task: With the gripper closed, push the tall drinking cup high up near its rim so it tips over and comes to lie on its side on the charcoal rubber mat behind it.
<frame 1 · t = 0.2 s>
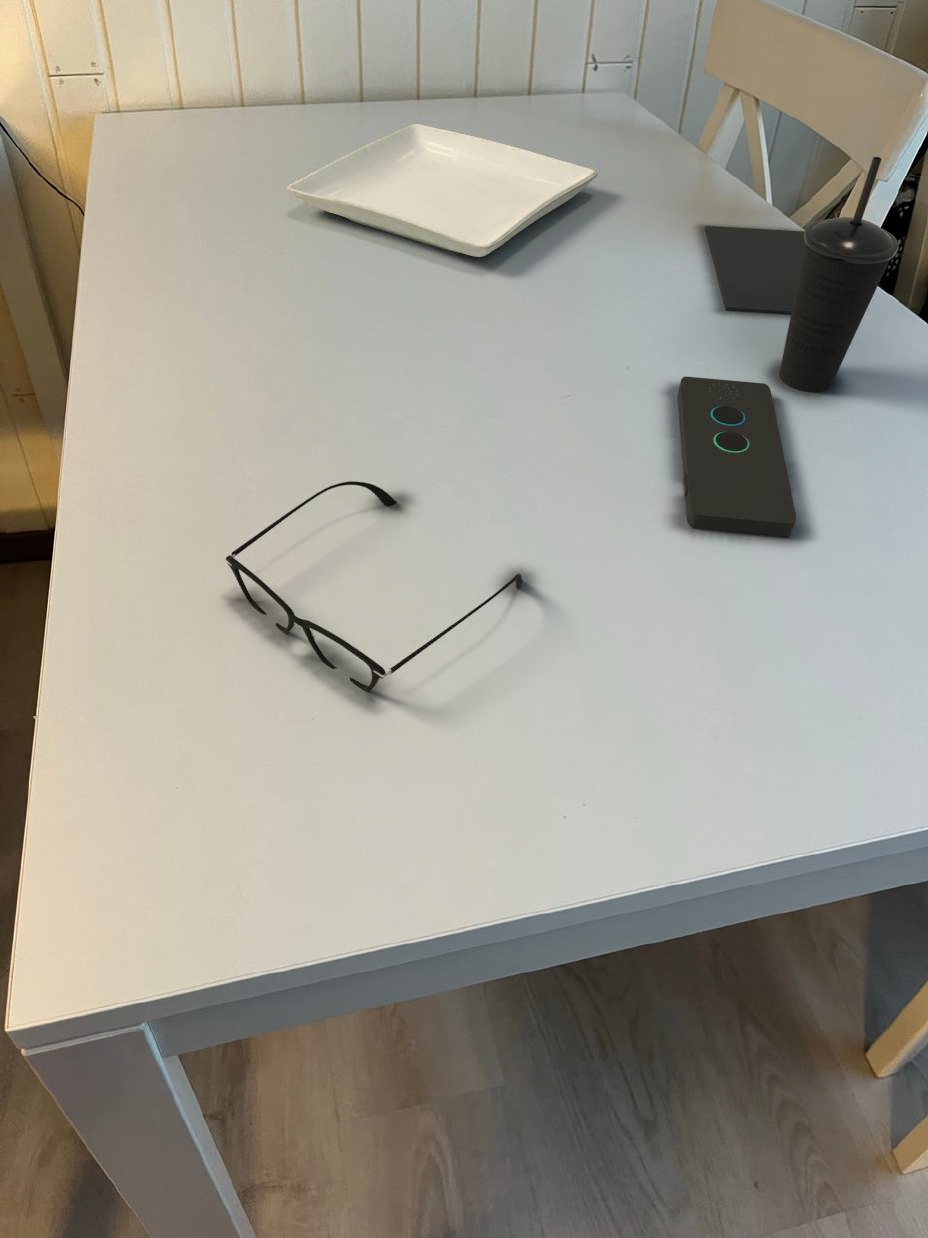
smart home device: (728, 460, 81), on the table
square plate: (446, 208, 115), on the table
drinking cup: (804, 382, 90), on the table
mat: (768, 272, 105), on the table
eyeglasses: (382, 595, 68), on the table
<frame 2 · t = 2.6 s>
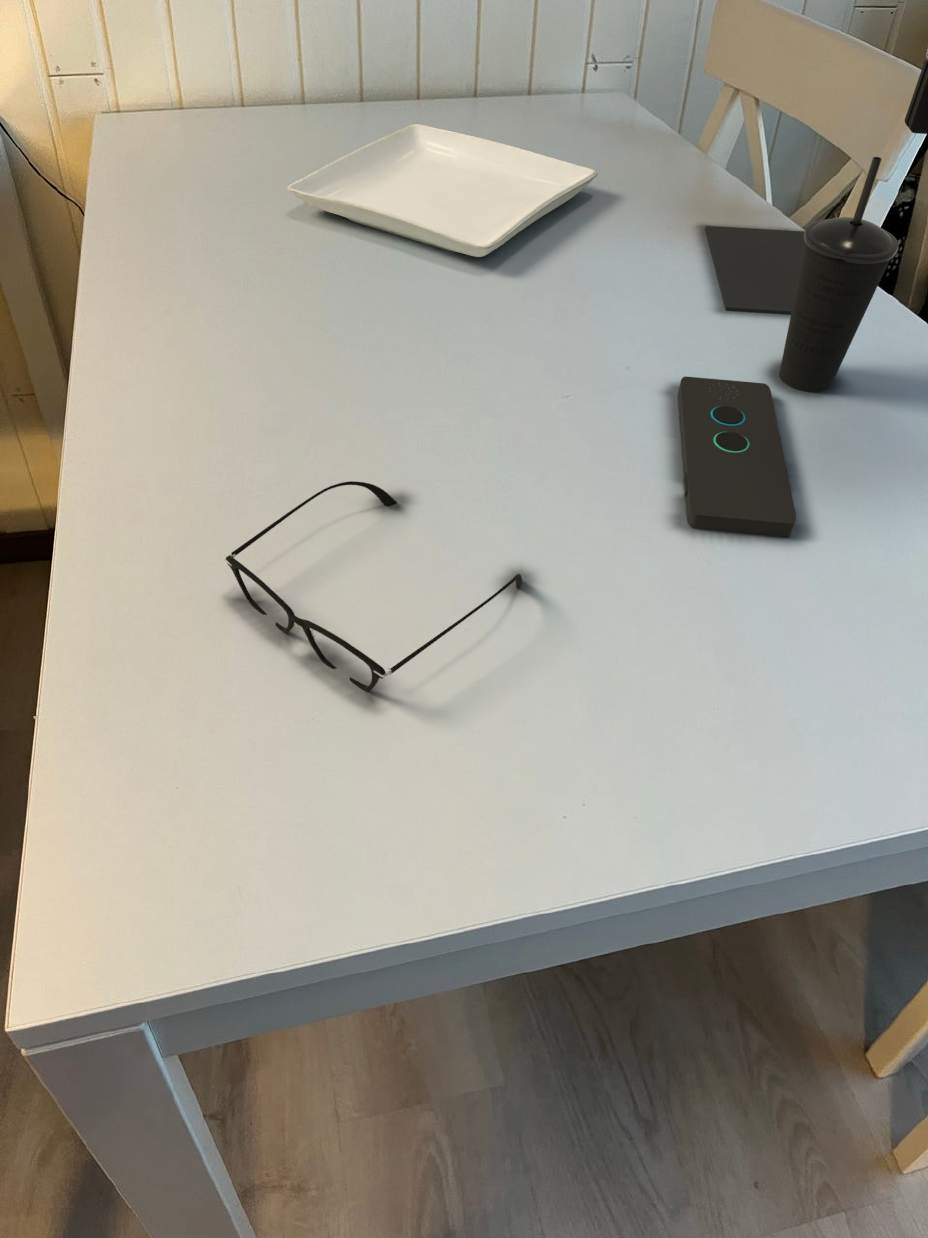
nothing on the table moved.
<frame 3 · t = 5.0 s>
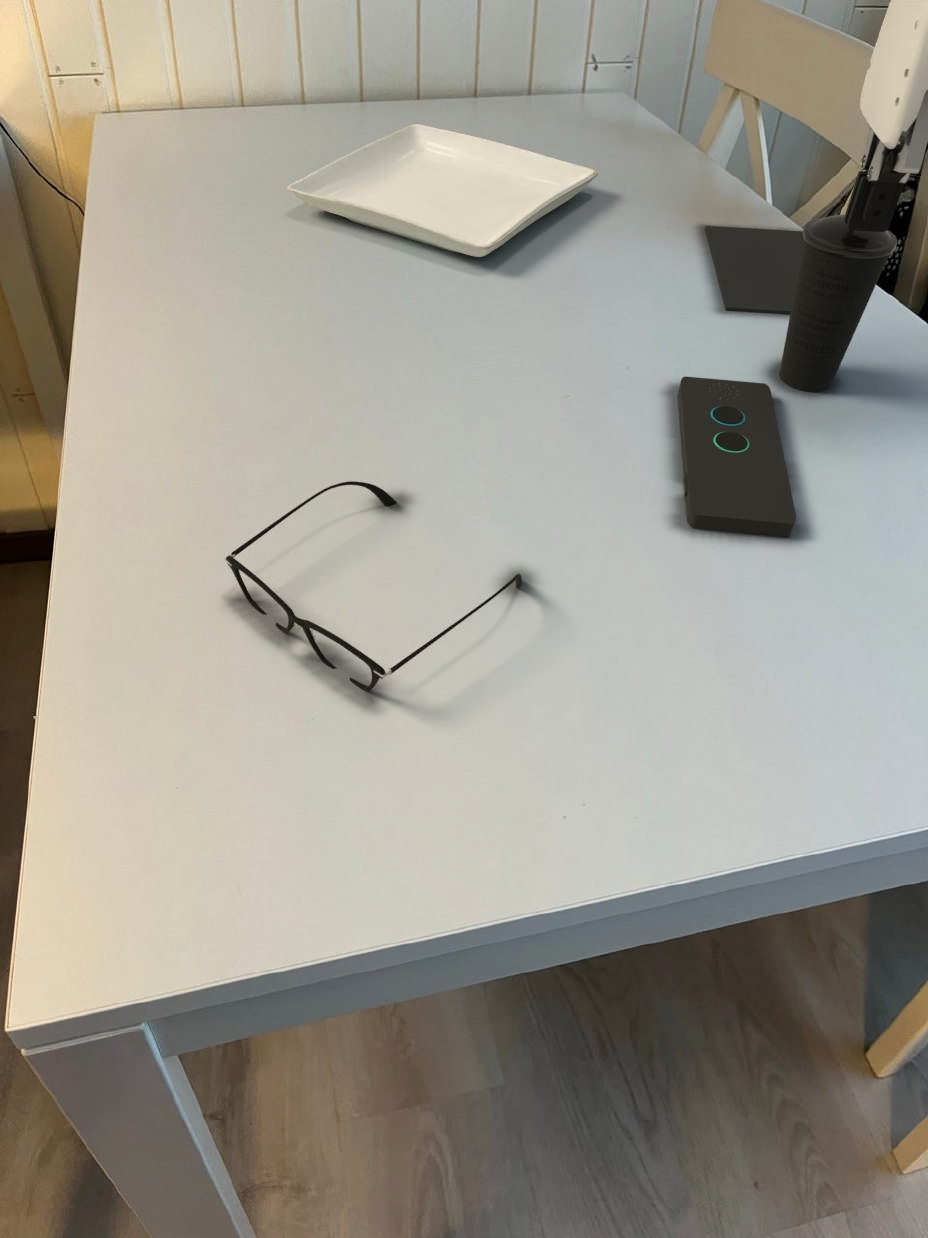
hand: (865, 226, 77), 16 cm above the table, tool pointing down, fingers closed
drinking cup: (804, 381, 90), on the table, touching gripper
everything else where it was.
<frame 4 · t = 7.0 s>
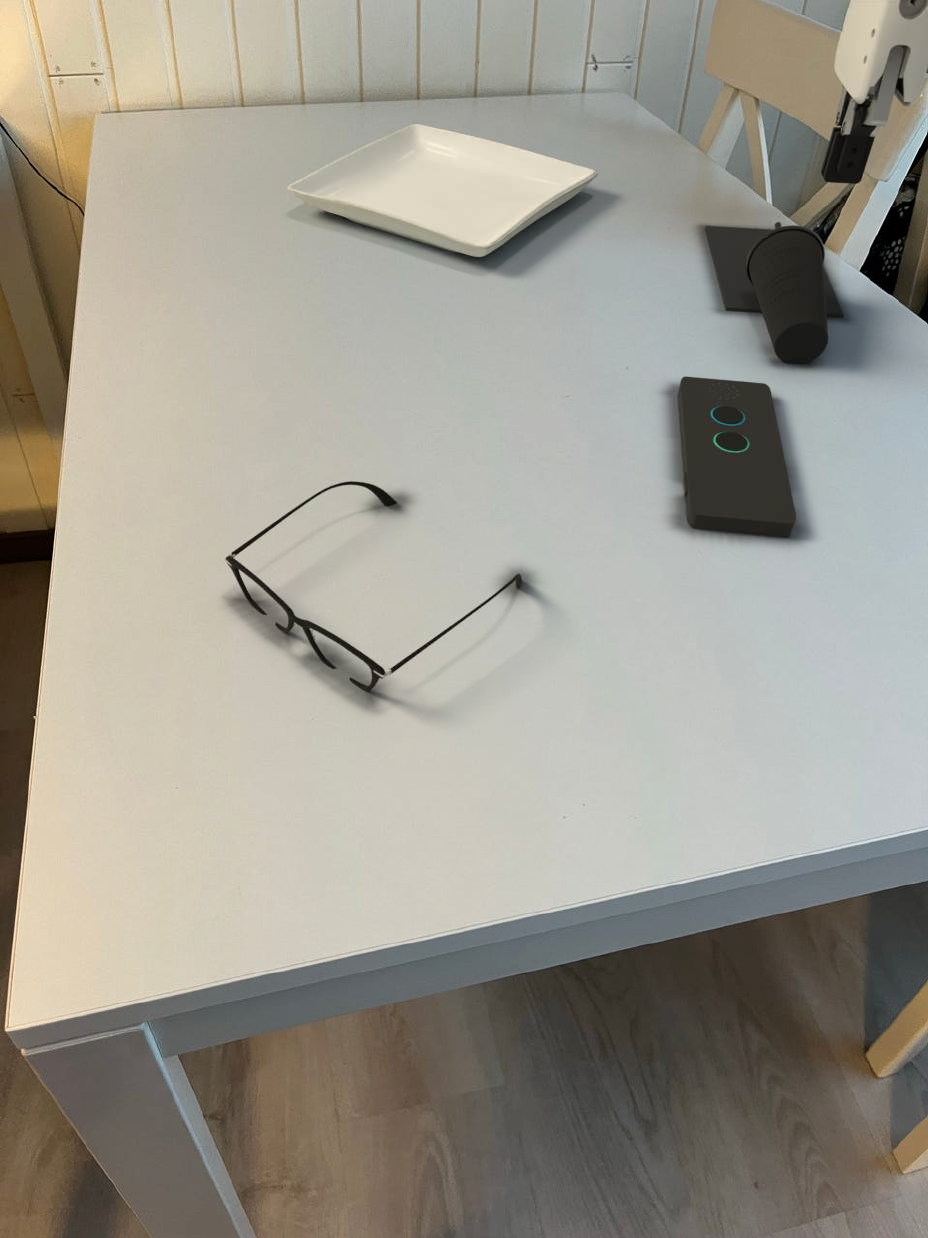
hand: (839, 178, 84), 16 cm above the table, tool pointing down, fingers closed
drinking cup: (801, 345, 89), point 2 cm above the table, touching mat
everything else where it was.
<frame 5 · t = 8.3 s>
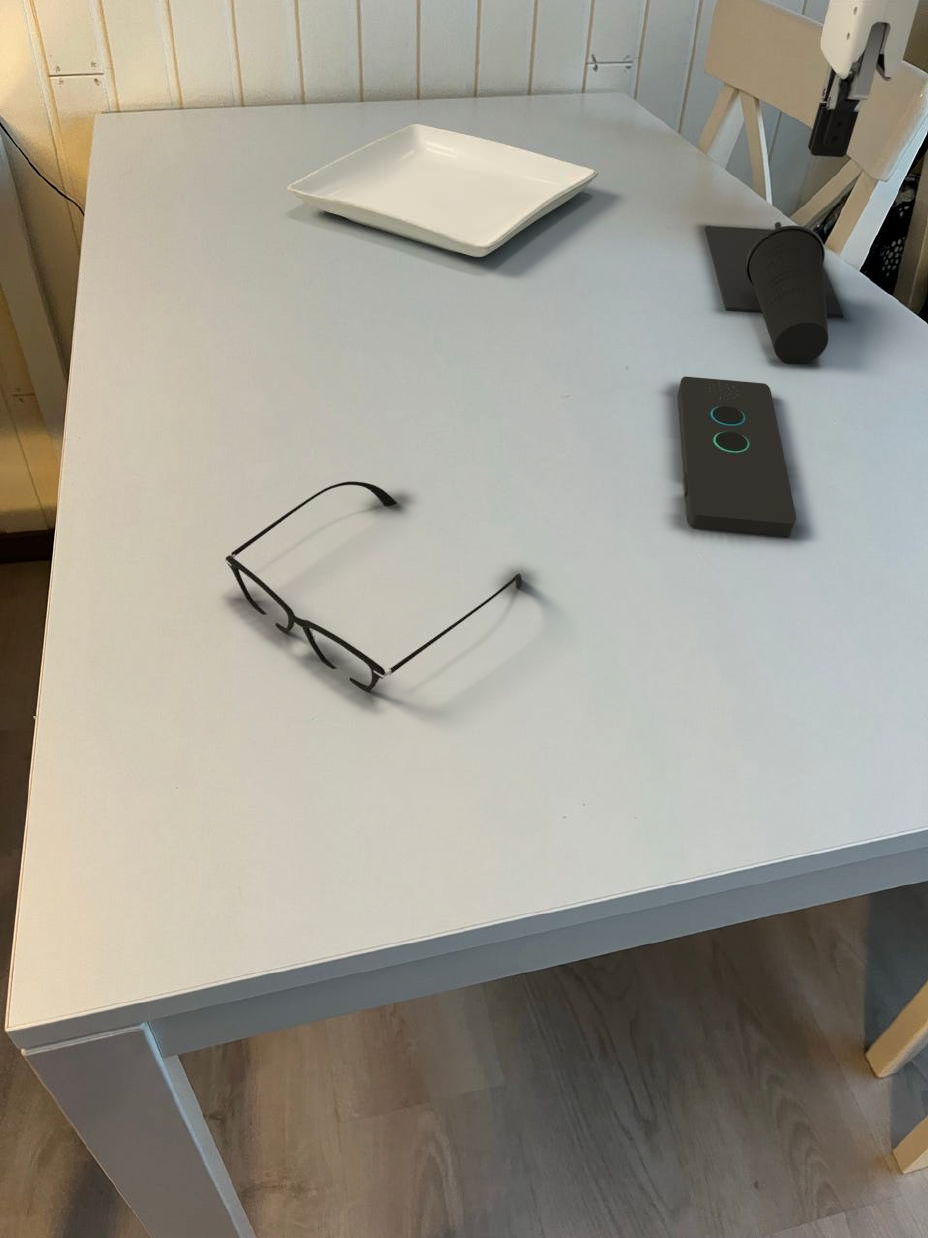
hand: (826, 152, 88), 16 cm above the table, tool pointing down, fingers closed
nothing on the table moved.
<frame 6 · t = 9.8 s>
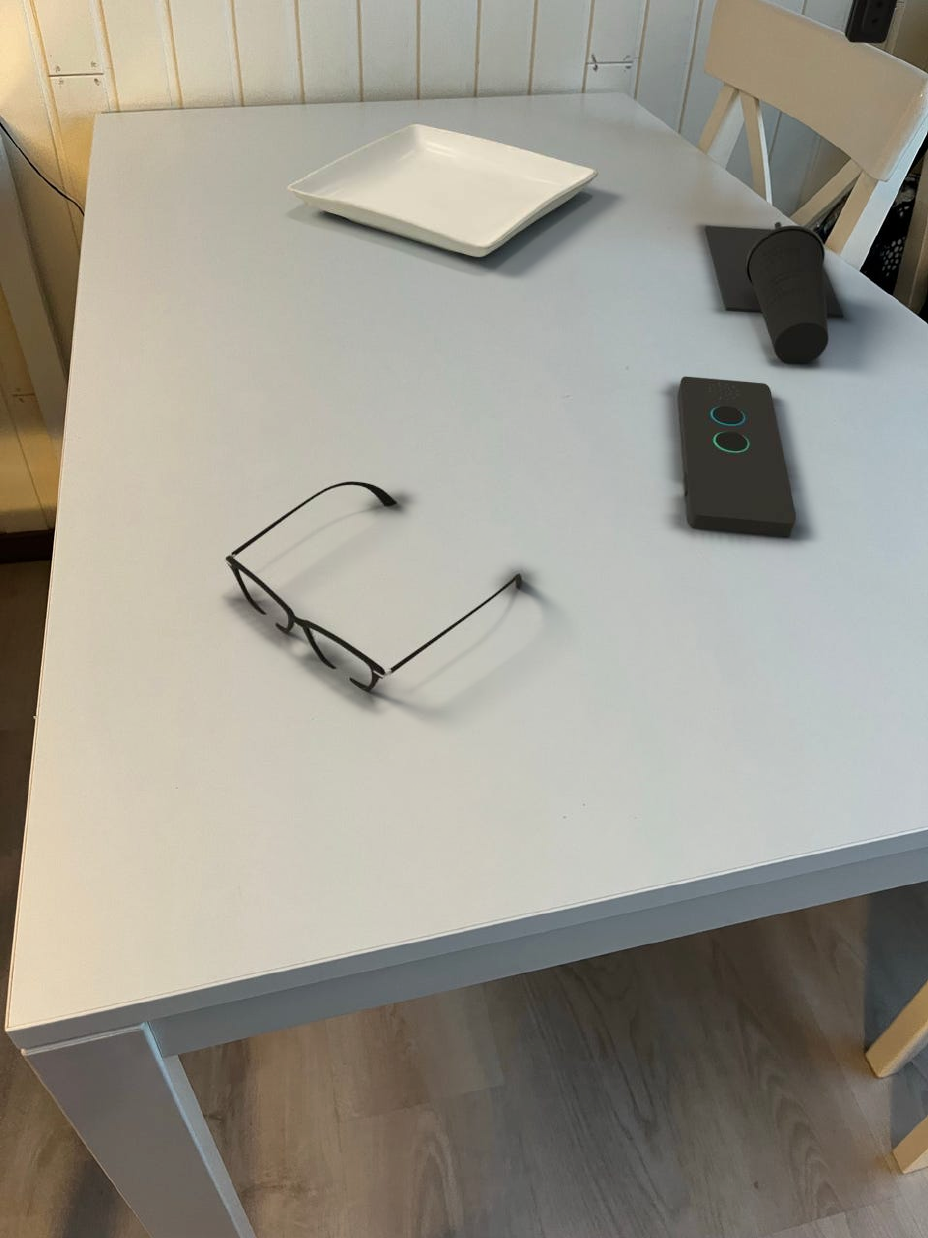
hand: (864, 39, 82), 25 cm above the table, tool pointing down, fingers closed
nothing on the table moved.
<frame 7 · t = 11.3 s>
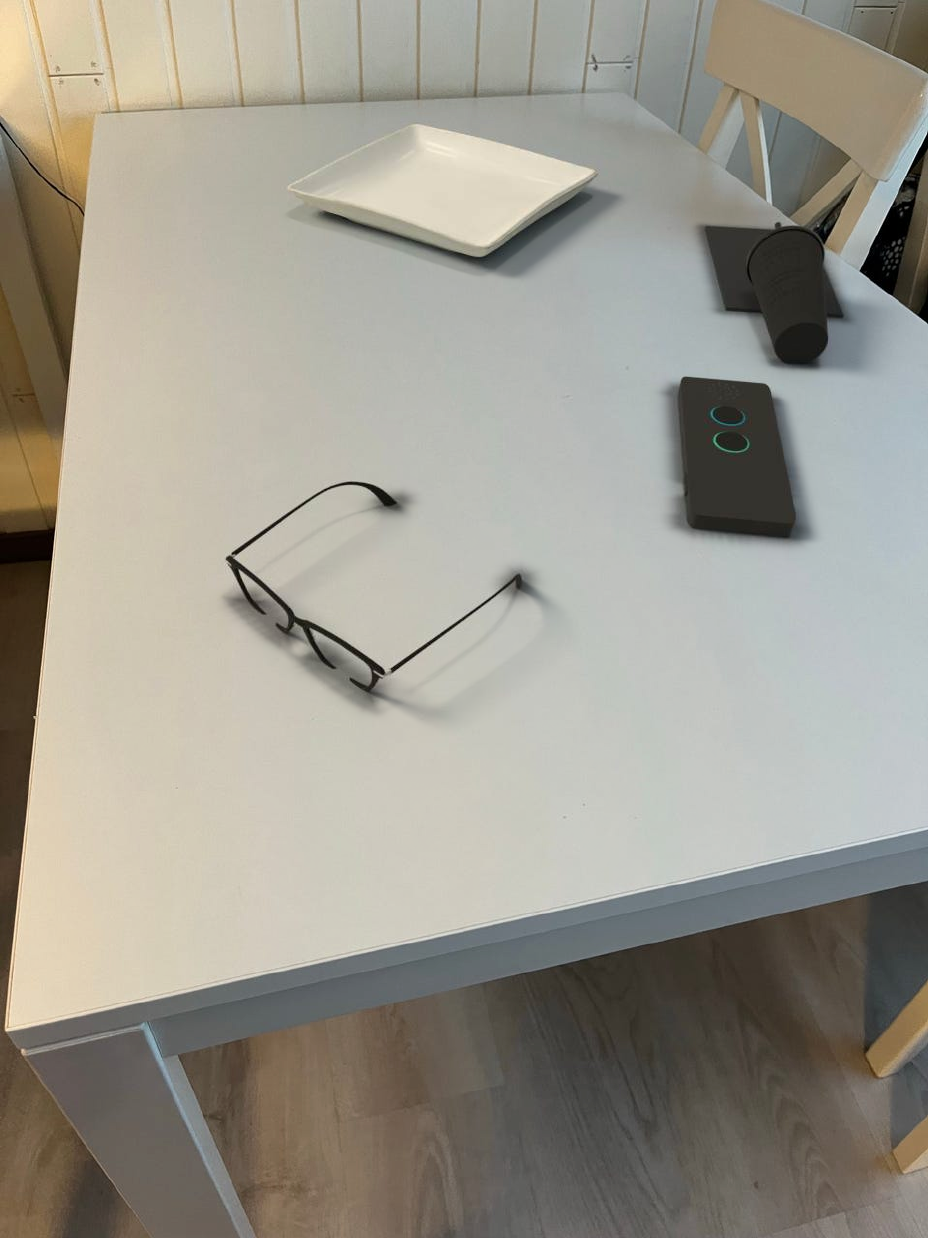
nothing on the table moved.
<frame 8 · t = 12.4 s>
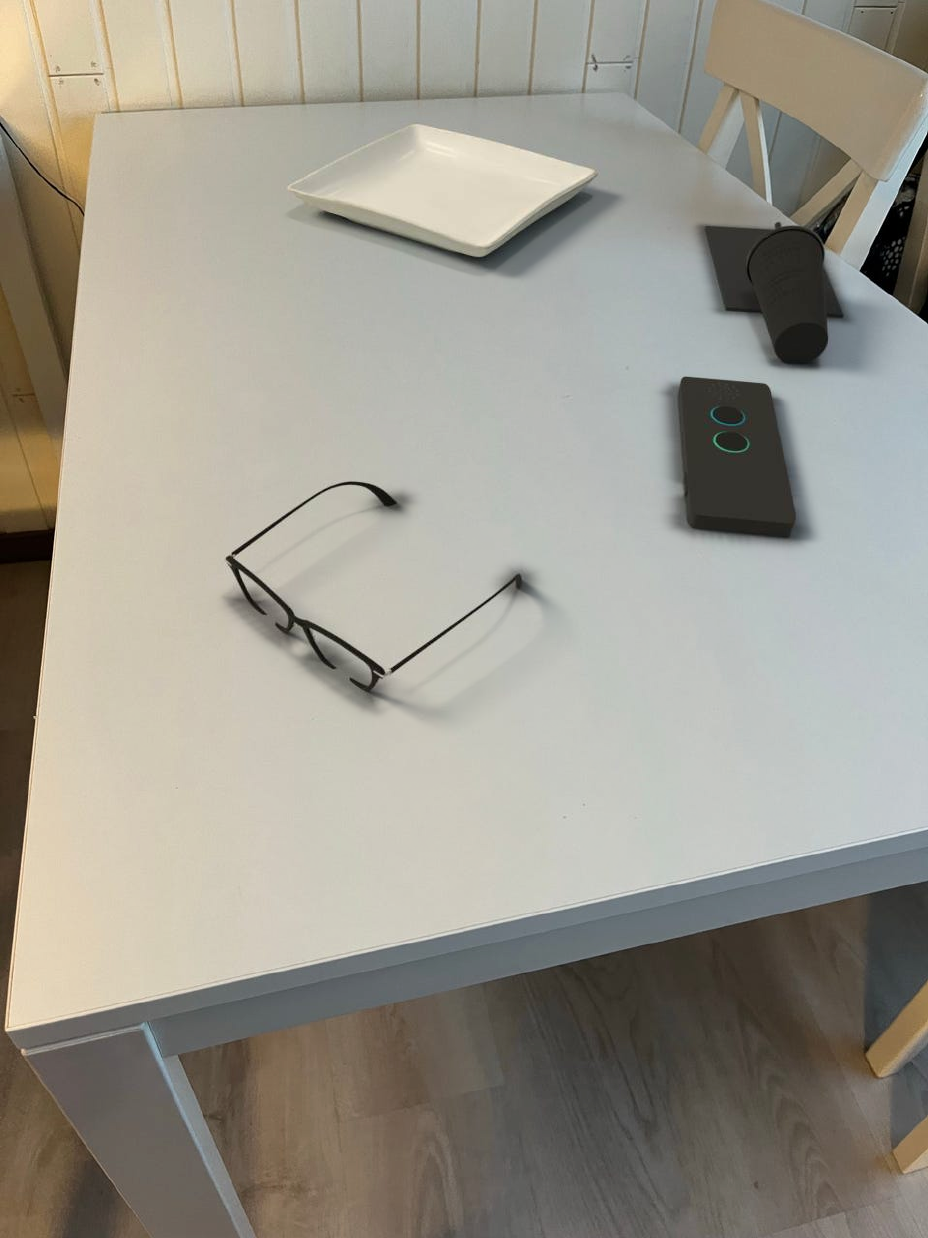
nothing on the table moved.
at the end: drinking cup tilted 82°; drinking cup touching mat, table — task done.
